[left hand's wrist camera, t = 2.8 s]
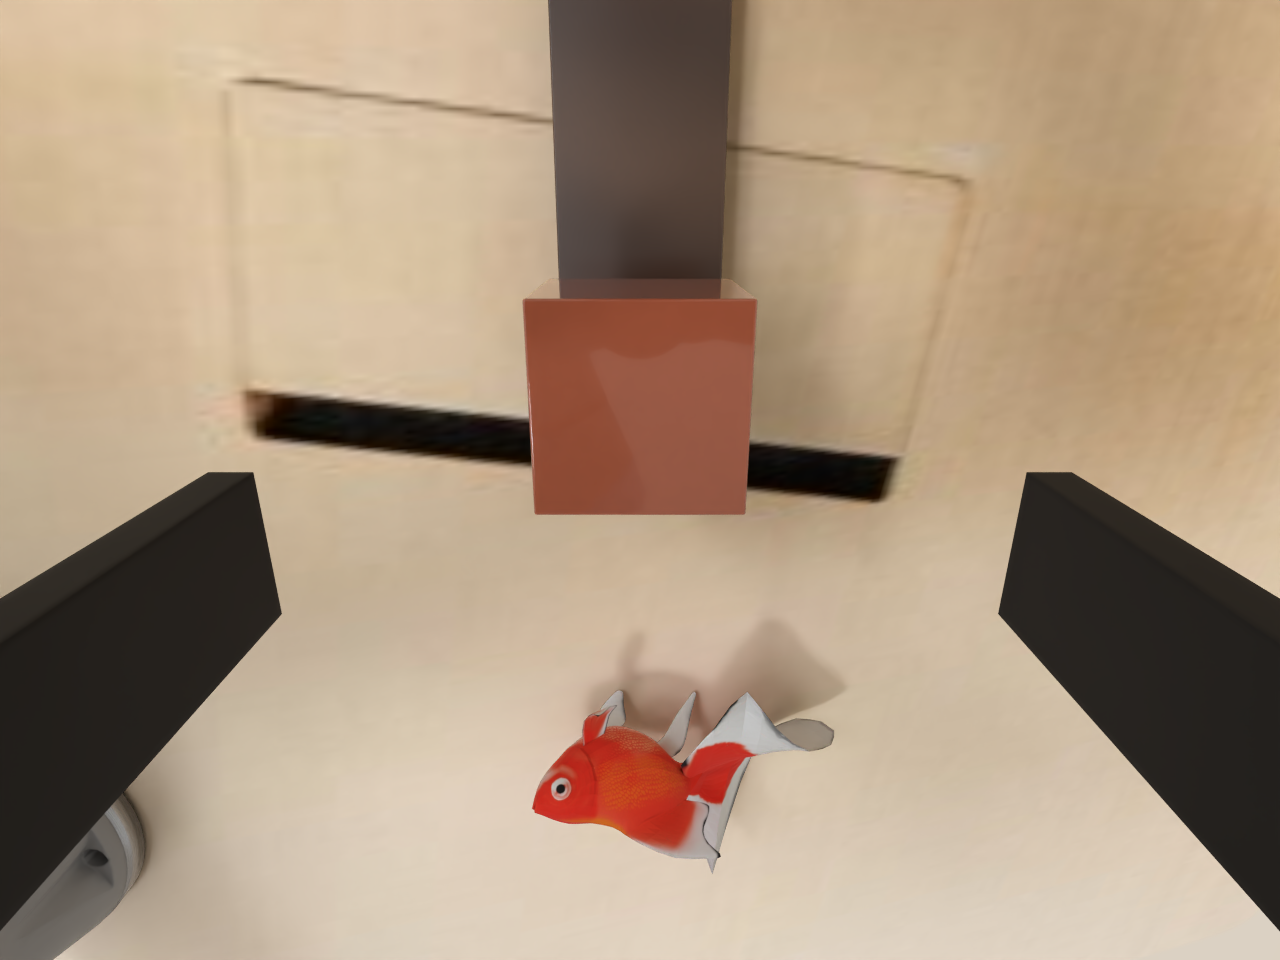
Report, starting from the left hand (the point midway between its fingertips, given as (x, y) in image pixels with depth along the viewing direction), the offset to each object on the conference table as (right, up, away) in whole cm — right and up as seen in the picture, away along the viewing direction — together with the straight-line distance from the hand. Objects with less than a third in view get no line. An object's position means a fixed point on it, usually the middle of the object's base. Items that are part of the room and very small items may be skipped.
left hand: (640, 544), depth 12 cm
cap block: (0, +5, +14) cm, 15 cm away
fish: (+3, -12, +29) cm, 31 cm away
